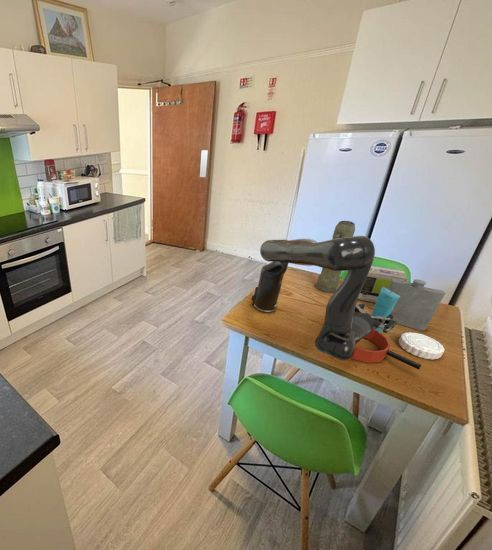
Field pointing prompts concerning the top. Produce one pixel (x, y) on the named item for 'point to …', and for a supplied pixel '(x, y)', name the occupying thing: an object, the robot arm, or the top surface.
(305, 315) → the top surface
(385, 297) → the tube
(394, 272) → the tea box
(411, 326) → the hip flask
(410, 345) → the mooncake
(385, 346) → the pan
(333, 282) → the thermos
